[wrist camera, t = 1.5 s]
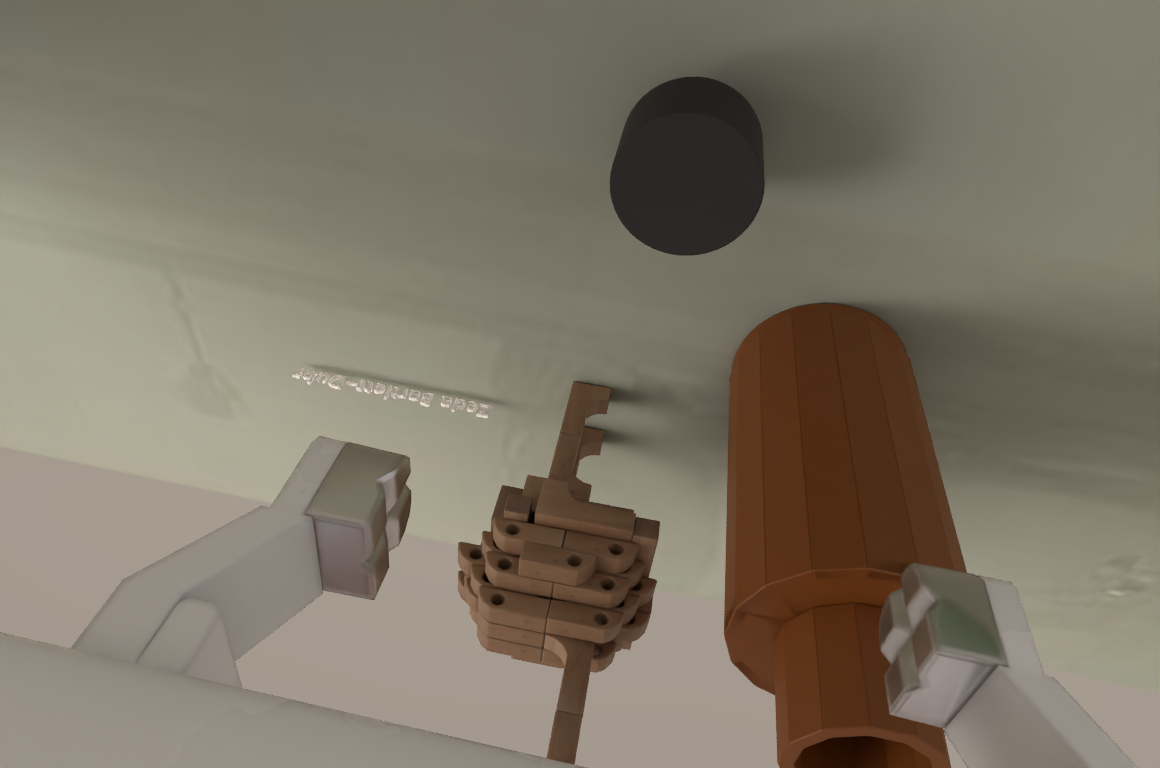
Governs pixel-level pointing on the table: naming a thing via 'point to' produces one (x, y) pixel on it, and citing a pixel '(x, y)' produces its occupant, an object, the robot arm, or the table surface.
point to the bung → (689, 167)
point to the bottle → (829, 530)
